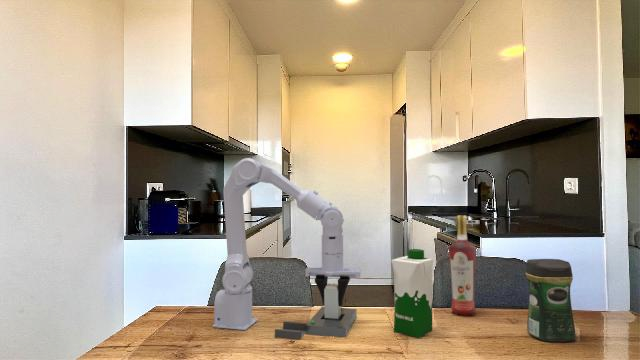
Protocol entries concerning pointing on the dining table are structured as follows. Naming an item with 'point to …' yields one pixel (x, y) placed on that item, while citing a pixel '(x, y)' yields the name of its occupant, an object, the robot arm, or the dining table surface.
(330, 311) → the plug
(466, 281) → the liquor
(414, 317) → the milk carton
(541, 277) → the coffee jar
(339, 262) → the robot arm
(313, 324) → the port panel
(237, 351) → the dining table surface
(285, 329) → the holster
